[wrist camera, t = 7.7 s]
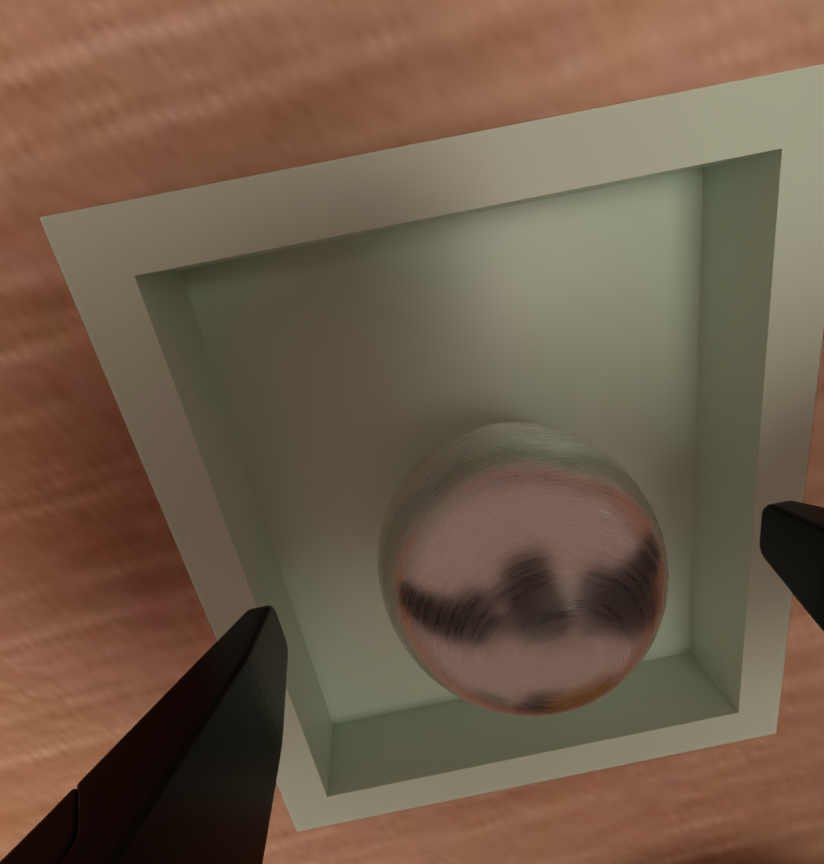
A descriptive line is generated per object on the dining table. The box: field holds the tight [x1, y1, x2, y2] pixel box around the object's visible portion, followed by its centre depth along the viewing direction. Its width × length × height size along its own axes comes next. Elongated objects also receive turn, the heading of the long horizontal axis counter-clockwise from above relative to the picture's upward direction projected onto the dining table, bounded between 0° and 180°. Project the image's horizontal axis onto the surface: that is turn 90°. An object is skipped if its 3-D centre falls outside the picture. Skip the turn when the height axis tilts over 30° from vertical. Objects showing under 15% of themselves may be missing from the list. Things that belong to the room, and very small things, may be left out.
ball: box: [378, 422, 669, 716], centre depth 9 cm, size 5×5×5 cm
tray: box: [39, 64, 824, 832], centre depth 11 cm, size 14×12×2 cm
